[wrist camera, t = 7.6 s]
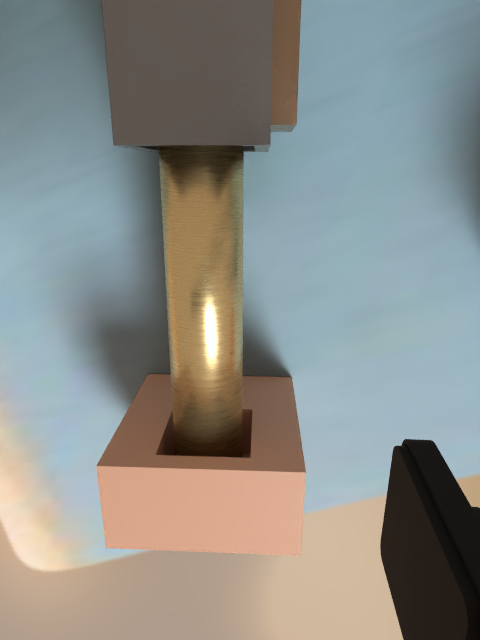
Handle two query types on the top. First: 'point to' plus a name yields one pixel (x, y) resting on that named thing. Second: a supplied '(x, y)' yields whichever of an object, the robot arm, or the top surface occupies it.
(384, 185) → the top surface
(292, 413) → the socket
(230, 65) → the grey block
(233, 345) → the tube
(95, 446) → the top surface
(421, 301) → the top surface
